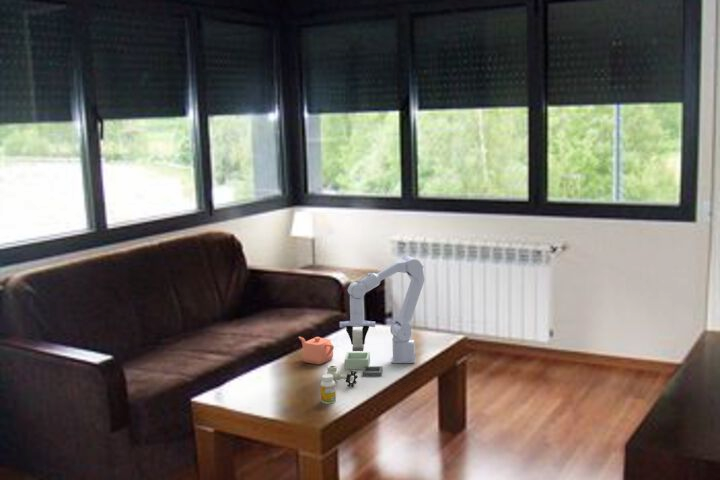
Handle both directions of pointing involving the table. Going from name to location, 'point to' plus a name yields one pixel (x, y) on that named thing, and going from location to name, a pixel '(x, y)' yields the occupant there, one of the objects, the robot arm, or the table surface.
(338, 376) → the valve
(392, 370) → the table surface
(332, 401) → the supplement bottle
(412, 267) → the robot arm
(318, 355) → the teapot
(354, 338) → the strut
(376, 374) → the socket
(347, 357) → the bin
